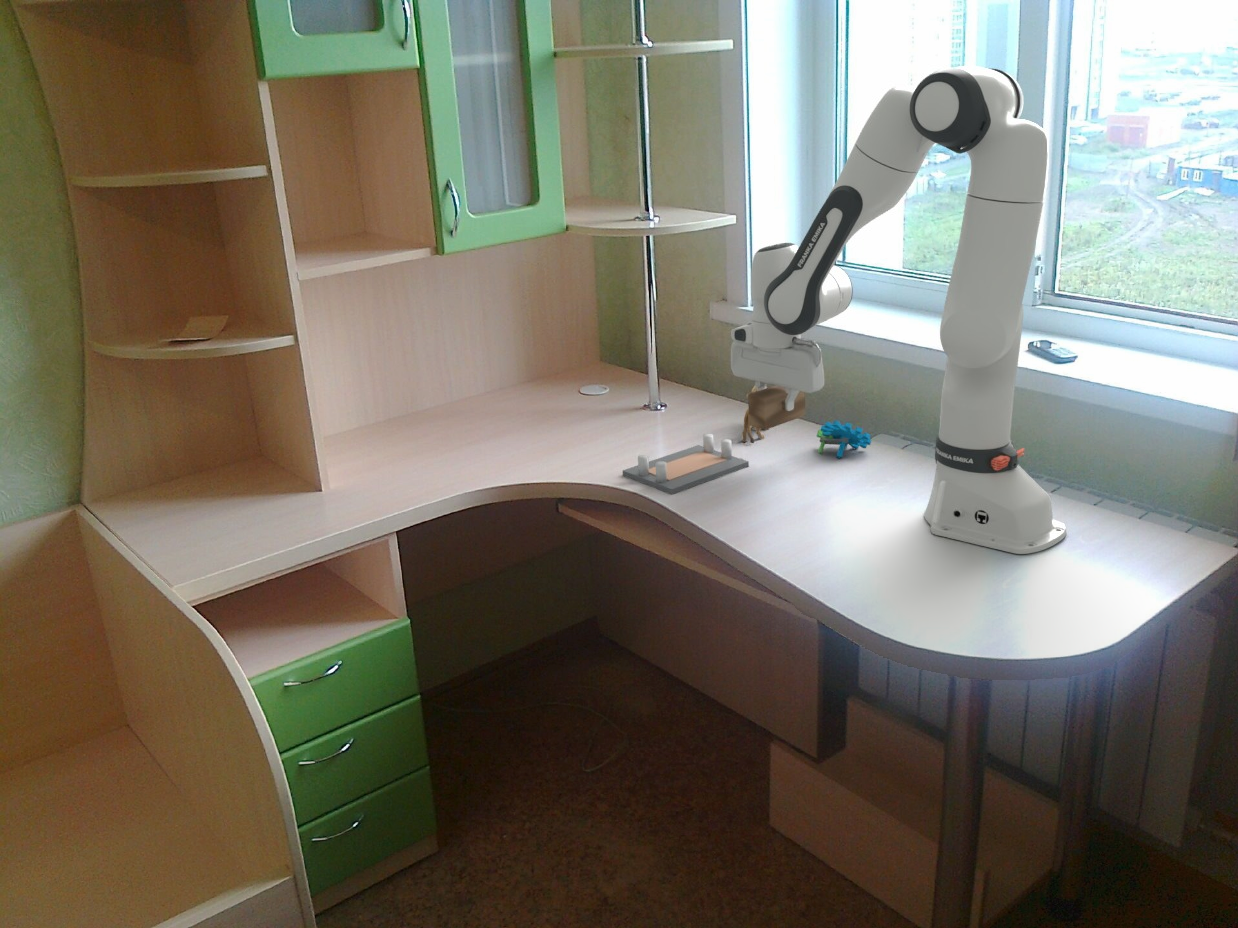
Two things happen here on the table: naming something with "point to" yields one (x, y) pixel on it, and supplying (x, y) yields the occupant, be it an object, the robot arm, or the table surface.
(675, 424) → the table surface
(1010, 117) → the robot arm
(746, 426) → the lion figurine
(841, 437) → the blue spiky animal toy
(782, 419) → the block
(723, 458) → the cradle
